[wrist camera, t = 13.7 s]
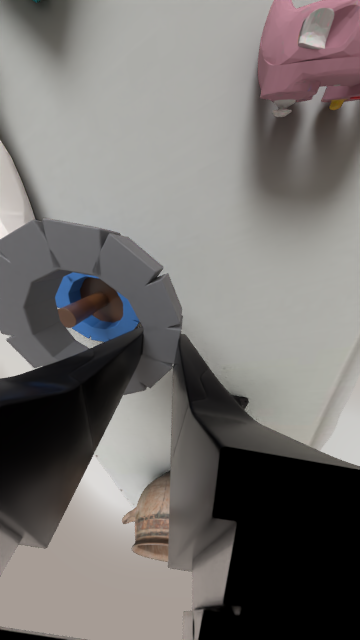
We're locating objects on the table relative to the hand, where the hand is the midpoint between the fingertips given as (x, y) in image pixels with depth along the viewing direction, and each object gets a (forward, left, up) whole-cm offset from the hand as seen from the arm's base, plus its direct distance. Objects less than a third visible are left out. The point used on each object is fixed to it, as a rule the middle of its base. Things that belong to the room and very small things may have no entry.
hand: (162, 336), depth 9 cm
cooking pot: (-54, -7, -11) cm, 56 cm away
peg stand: (-2, +10, -11) cm, 15 cm away
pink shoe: (+18, -8, -11) cm, 23 cm away
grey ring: (0, +4, -1) cm, 4 cm away
